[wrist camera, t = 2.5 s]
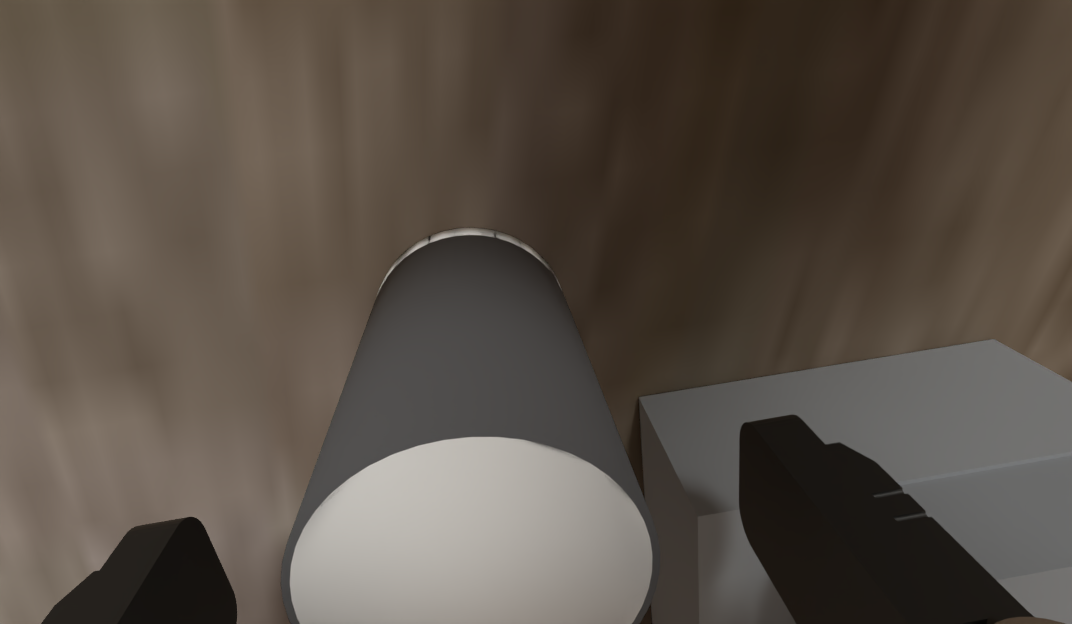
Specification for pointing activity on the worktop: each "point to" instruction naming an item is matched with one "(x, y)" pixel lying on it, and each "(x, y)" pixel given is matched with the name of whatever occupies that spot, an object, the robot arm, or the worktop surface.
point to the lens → (471, 460)
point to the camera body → (891, 441)
